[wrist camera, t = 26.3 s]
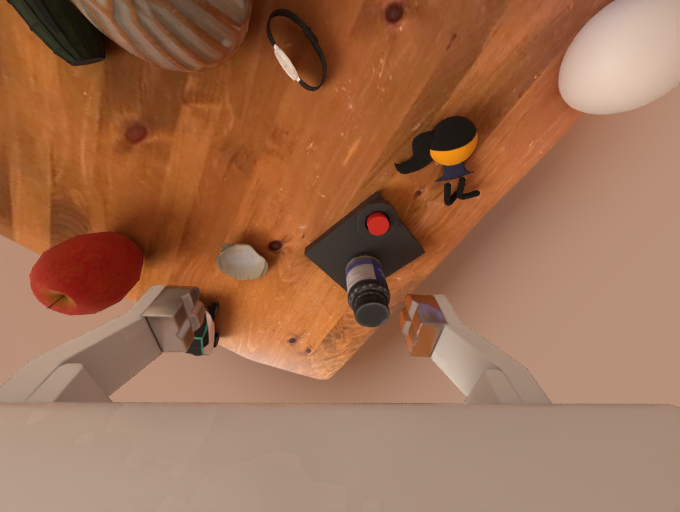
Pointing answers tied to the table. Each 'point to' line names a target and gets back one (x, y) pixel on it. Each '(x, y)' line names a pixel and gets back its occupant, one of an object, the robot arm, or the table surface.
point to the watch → (282, 56)
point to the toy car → (205, 334)
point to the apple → (86, 273)
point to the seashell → (241, 261)
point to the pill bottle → (367, 290)
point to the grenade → (63, 29)
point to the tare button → (377, 223)
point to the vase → (173, 29)
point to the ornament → (623, 57)
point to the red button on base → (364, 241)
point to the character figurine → (445, 153)
